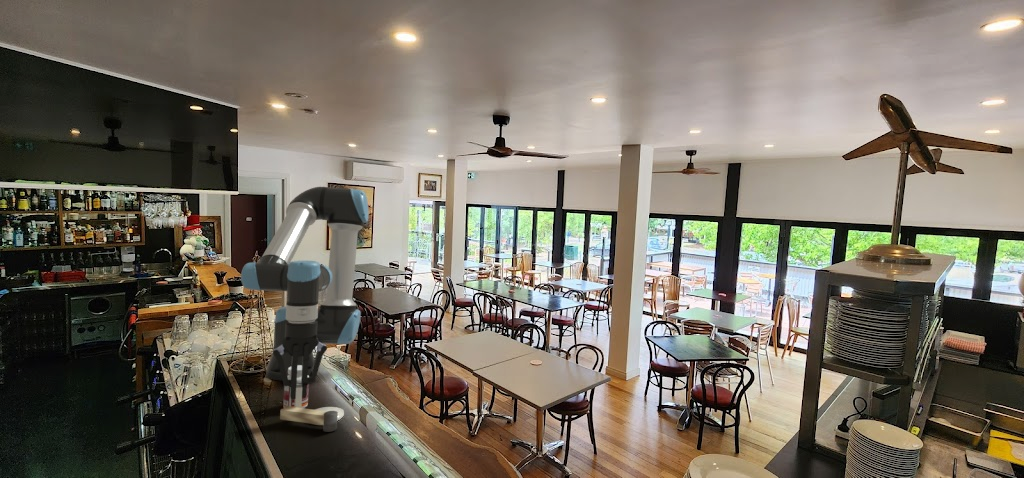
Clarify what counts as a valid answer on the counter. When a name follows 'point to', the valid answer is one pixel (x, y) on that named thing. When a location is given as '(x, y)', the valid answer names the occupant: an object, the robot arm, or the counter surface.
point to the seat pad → (339, 410)
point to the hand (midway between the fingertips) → (297, 410)
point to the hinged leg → (311, 417)
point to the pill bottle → (287, 389)
